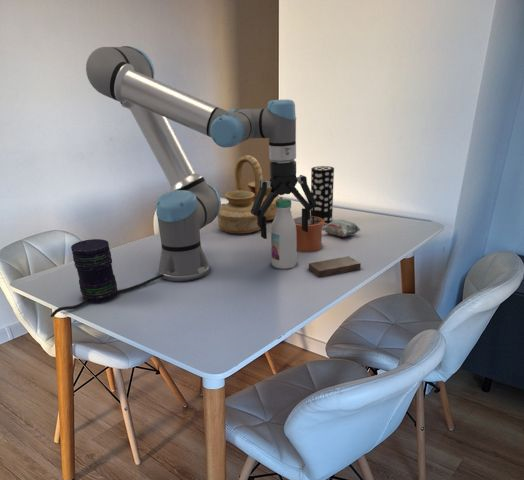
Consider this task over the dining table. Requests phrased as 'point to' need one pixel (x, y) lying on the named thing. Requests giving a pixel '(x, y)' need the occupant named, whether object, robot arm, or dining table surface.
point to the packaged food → (341, 228)
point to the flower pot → (309, 234)
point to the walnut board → (334, 266)
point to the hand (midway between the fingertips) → (284, 234)
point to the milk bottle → (283, 236)
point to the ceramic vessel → (244, 202)
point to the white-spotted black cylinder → (322, 192)
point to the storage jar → (95, 270)
